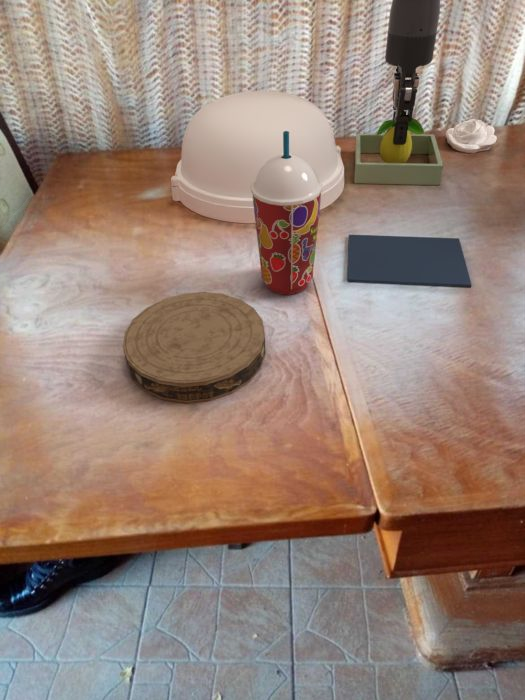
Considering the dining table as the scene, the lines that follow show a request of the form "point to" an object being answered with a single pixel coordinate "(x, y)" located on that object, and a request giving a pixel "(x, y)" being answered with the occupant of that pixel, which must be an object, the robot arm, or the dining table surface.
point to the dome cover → (251, 151)
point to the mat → (407, 260)
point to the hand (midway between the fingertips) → (398, 137)
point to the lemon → (397, 152)
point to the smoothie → (286, 220)
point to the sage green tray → (398, 171)
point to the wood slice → (195, 347)
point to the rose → (471, 136)
